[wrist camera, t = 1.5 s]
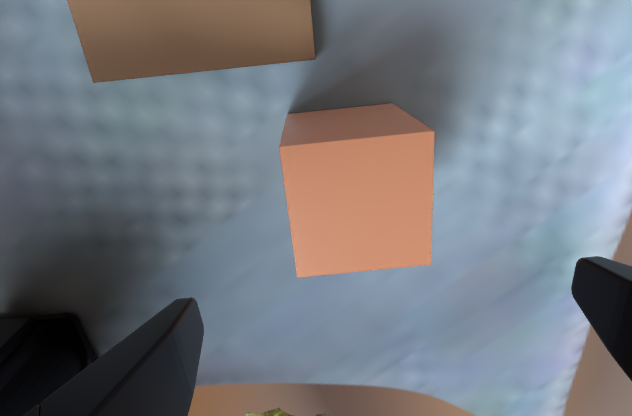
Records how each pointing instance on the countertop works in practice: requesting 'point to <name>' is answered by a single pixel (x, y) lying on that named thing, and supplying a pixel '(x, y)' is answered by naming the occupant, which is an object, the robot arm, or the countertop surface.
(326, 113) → the salmon orange block
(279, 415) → the stone wall
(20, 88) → the countertop surface
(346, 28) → the countertop surface
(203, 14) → the stand
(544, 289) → the countertop surface
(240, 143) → the countertop surface
